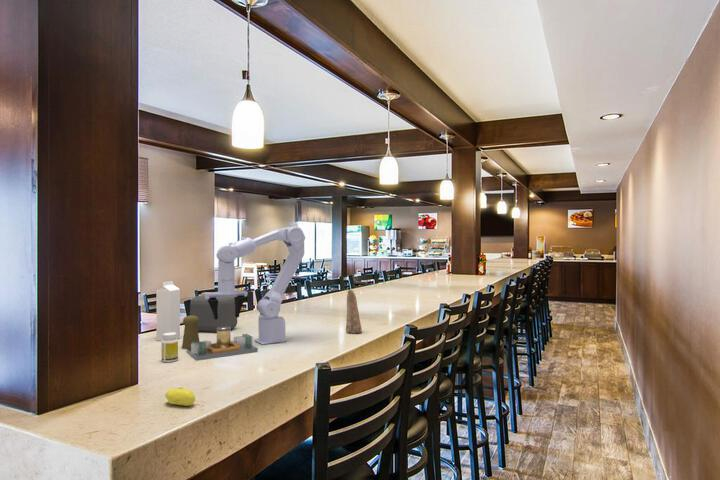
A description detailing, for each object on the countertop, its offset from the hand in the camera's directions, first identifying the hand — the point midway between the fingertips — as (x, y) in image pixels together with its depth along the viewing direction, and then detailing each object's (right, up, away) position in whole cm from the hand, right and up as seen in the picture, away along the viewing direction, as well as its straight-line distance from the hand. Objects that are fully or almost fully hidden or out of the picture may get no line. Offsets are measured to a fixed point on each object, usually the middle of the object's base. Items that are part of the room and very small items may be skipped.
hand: (226, 317), depth 164 cm
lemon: (+6, -10, -58) cm, 59 cm away
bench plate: (+1, -10, -9) cm, 13 cm away
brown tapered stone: (+45, -10, +23) cm, 51 cm away
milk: (-25, -10, +11) cm, 29 cm away
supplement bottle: (-12, -10, -20) cm, 25 cm away
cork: (-12, -10, -2) cm, 16 cm away
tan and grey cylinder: (+2, -9, -9) cm, 13 cm away
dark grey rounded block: (-14, -10, +28) cm, 33 cm away
